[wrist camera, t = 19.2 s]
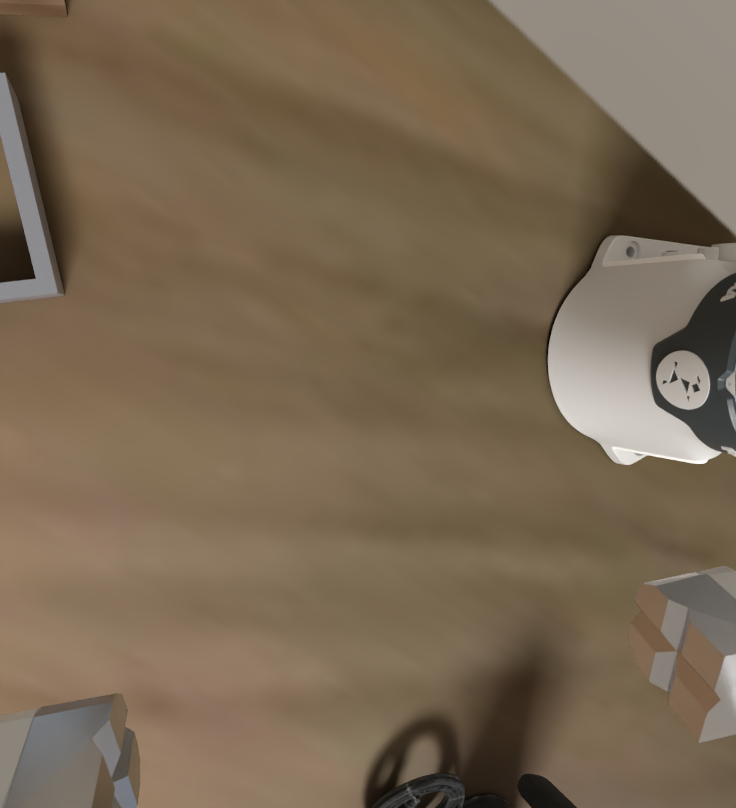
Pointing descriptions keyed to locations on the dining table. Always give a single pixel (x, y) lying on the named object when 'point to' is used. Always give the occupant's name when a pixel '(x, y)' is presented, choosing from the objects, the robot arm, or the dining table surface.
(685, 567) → the dining table surface
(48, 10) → the walnut board
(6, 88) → the gray bin
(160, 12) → the dining table surface
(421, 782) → the milk frother
